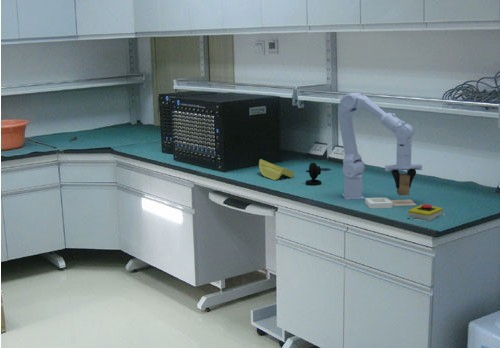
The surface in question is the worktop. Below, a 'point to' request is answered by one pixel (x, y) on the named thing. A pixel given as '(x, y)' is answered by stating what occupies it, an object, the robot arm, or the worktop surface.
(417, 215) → the emergency button
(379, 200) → the pocket block
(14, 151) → the worktop surface
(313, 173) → the webcam
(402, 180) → the peg
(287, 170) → the plastic component
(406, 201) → the pad
